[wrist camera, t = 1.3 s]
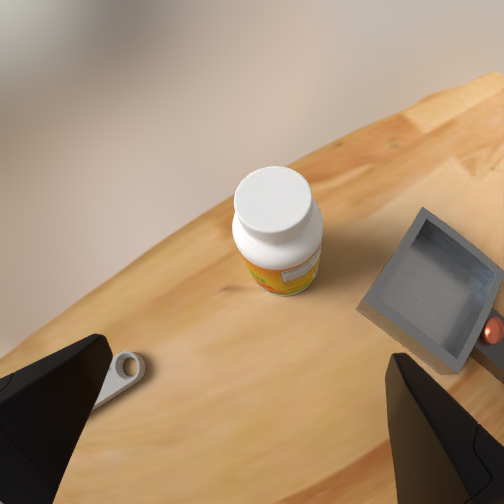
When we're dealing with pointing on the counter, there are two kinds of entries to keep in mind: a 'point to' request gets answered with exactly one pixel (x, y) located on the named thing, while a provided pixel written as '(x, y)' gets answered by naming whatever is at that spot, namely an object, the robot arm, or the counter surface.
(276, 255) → the supplement bottle
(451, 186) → the counter surface
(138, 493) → the counter surface
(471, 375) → the counter surface
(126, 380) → the adjustable wrench
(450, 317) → the grey rectangular scoop
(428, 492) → the robot arm
